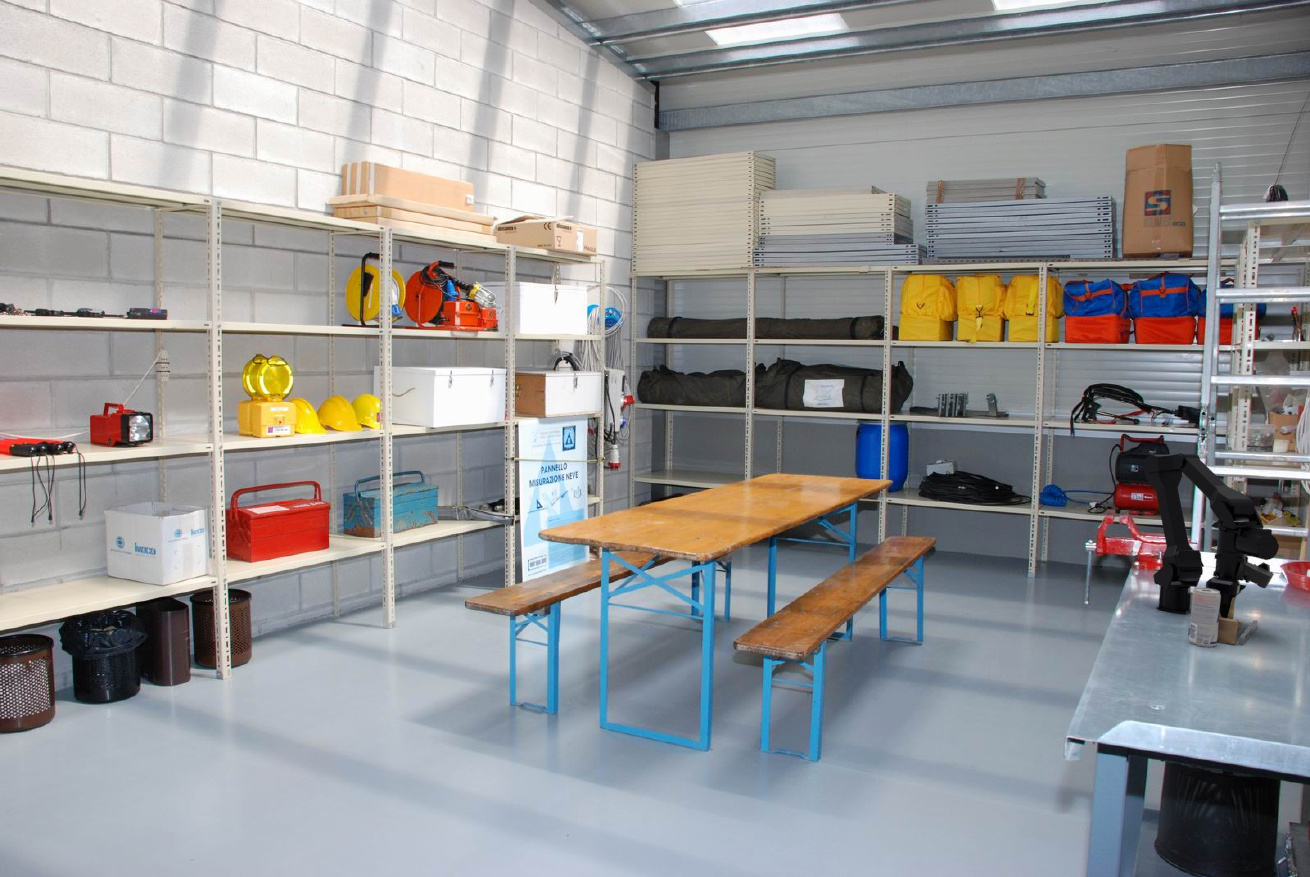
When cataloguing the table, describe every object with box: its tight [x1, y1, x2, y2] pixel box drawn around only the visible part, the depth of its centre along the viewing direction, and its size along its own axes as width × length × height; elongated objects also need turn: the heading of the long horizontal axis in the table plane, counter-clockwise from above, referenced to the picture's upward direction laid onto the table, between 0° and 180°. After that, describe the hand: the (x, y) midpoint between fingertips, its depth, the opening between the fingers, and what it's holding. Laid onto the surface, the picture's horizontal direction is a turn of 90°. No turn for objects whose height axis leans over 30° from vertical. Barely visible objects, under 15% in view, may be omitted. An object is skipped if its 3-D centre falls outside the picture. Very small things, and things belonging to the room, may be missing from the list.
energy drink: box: [1188, 587, 1221, 648], centre depth 215 cm, size 5×5×12 cm
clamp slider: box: [1217, 597, 1243, 645], centre depth 222 cm, size 8×14×8 cm, turn 140°
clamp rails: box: [1187, 619, 1259, 646], centre depth 225 cm, size 11×19×2 cm, turn 140°
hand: (1225, 616), depth 227 cm, fingers closed on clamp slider, 3 cm apart
